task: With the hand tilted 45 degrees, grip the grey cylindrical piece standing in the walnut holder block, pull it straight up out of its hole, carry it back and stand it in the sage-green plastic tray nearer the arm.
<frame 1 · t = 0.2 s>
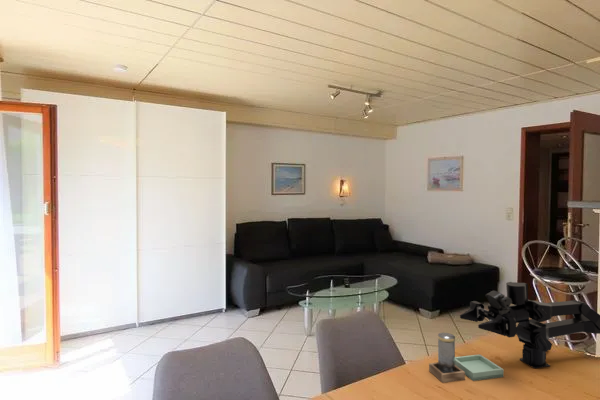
hand: (469, 321, 120), 17 cm above the table, tool horizontal, fingers open, 9 cm apart
tray: (476, 370, 120), on the table
grey cylindrical piece: (446, 355, 118), in the holder
lemon: (539, 351, 135), on the table
holder: (446, 375, 118), on the table
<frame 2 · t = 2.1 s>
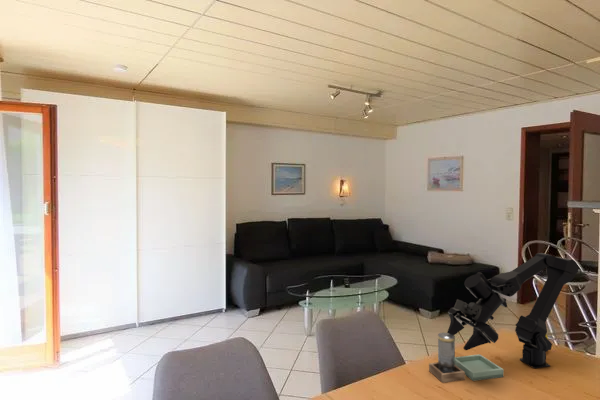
hand: (455, 343, 118), 10 cm above the table, tool tilted 45°, fingers open, 9 cm apart
nothing on the table moved.
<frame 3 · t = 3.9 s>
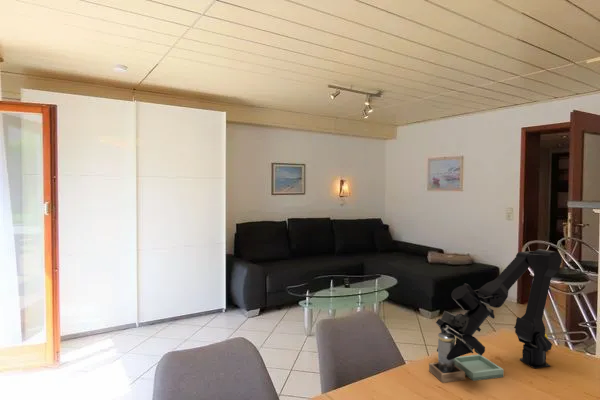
hand: (442, 355, 117), 7 cm above the table, tool tilted 45°, fingers closed on grey cylindrical piece, 5 cm apart
grey cylindrical piece: (446, 355, 118), in the holder, touching gripper
everything else where it was.
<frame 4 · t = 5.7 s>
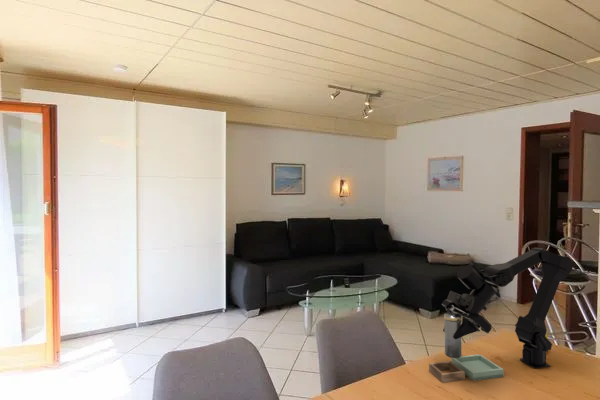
hand: (449, 335, 118), 13 cm above the table, tool tilted 45°, fingers closed on grey cylindrical piece, 5 cm apart
grey cylindrical piece: (452, 334, 118), point 13 cm above the table, touching gripper
everything else where it was.
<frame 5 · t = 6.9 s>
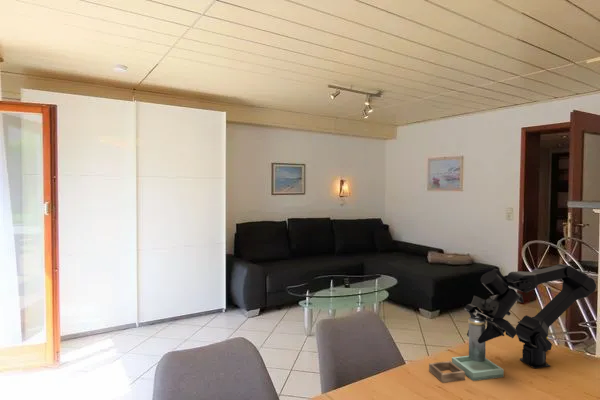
hand: (473, 339, 120), 11 cm above the table, tool tilted 45°, fingers closed on grey cylindrical piece, 5 cm apart
grey cylindrical piece: (477, 338, 120), point 11 cm above the table, touching gripper
everything else where it was.
when the fingers open (9 cm above the table, at t = 7.6 s): grey cylindrical piece drops 1 cm, resting on tray.
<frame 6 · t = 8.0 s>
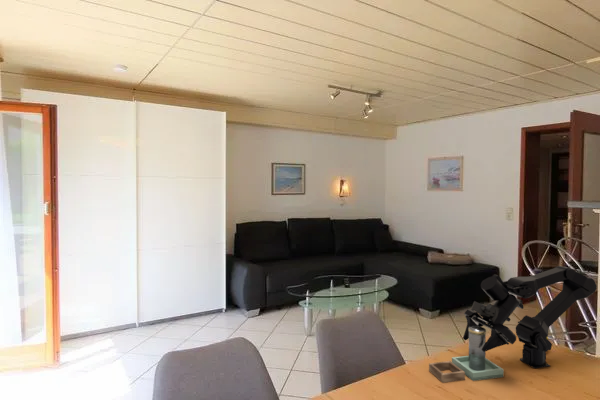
hand: (473, 344, 120), 9 cm above the table, tool tilted 45°, fingers open, 9 cm apart
grey cylindrical piece: (477, 348, 120), in the tray, point 8 cm above the table
everything else where it was.
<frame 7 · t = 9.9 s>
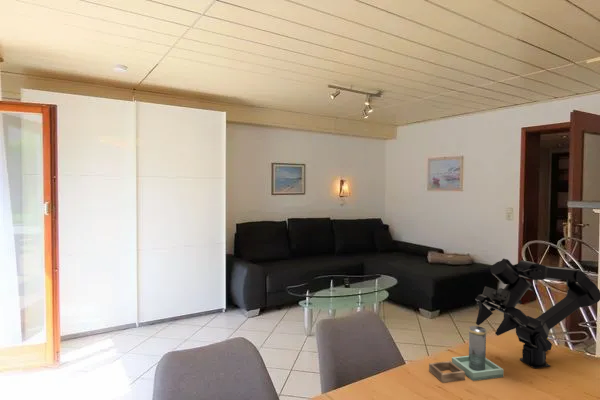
hand: (486, 329, 121), 13 cm above the table, tool tilted 40°, fingers open, 9 cm apart
nothing on the table moved.
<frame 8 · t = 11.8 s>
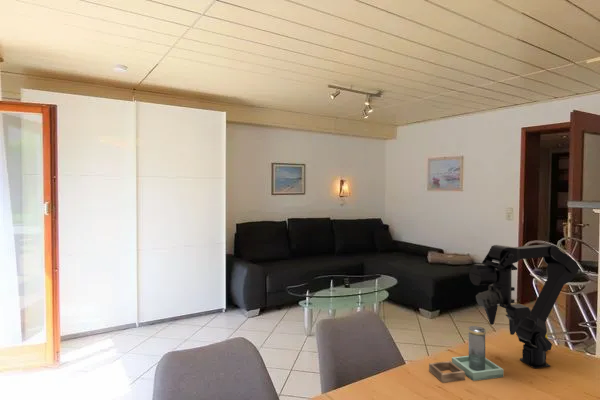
hand: (501, 329, 122), 13 cm above the table, tool pointing down, fingers open, 9 cm apart
nothing on the table moved.
at the end: grey cylindrical piece inside the target area on the tray (0.1 cm from its centre), point 7.5 cm above the tray's base; grey cylindrical piece tilted 1°; the gripper is holding nothing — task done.
